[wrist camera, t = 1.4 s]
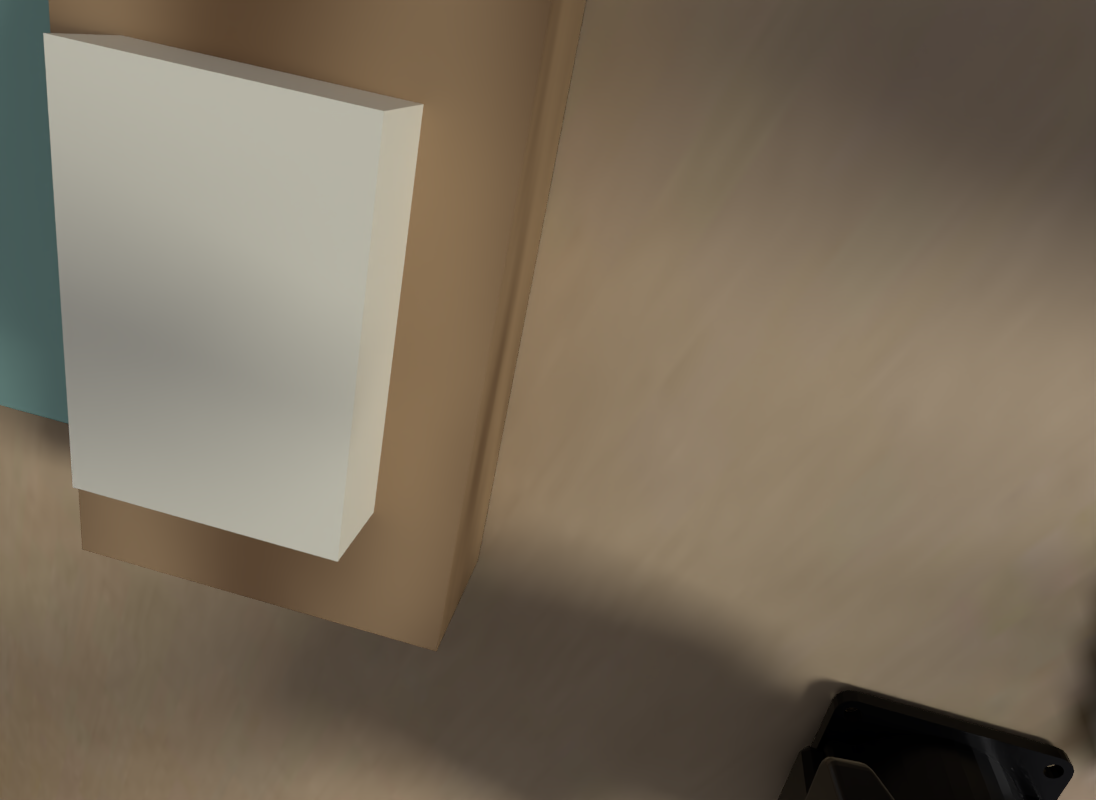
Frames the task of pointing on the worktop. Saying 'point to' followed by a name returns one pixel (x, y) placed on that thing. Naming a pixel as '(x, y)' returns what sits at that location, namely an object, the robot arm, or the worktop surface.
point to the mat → (28, 222)
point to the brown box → (426, 292)
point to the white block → (227, 284)
